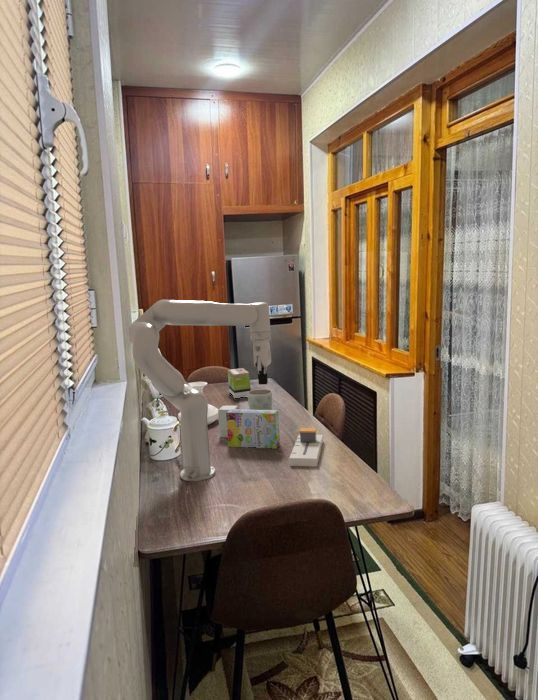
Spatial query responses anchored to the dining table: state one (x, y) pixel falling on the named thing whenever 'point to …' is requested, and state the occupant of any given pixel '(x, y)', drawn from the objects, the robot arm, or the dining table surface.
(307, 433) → the fader knob
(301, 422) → the dining table surface
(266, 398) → the planter
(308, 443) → the fader console
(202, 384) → the candle holder
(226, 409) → the supplement box
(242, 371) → the tea box
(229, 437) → the snack box
